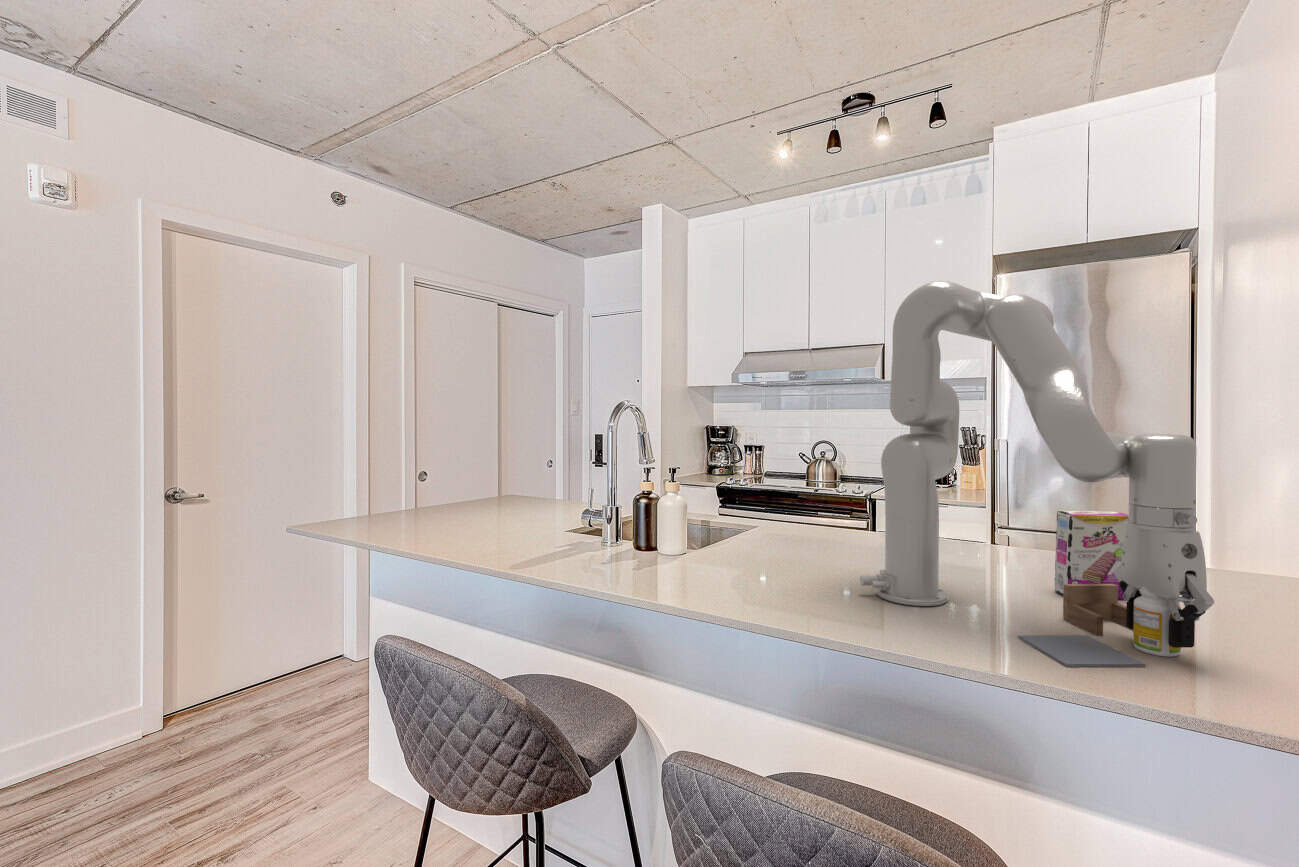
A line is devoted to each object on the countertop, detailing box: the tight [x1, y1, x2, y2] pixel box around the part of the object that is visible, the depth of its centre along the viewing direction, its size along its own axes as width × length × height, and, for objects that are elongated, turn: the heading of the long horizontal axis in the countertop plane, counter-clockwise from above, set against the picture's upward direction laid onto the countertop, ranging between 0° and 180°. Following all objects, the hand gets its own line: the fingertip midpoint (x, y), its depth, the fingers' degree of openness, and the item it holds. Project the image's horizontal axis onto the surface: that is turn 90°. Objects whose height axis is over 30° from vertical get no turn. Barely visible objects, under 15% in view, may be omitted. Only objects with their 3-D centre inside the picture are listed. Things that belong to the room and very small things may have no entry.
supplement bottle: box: [1132, 587, 1181, 658], centre depth 89 cm, size 5×5×10 cm
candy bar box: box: [1054, 509, 1128, 601], centre depth 116 cm, size 11×5×16 cm, turn 84°
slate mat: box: [1017, 634, 1146, 668], centre depth 89 cm, size 11×11×1 cm
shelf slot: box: [1062, 584, 1133, 636], centre depth 99 cm, size 9×8×6 cm
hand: (1158, 635), depth 89 cm, fingers open, 6 cm apart
